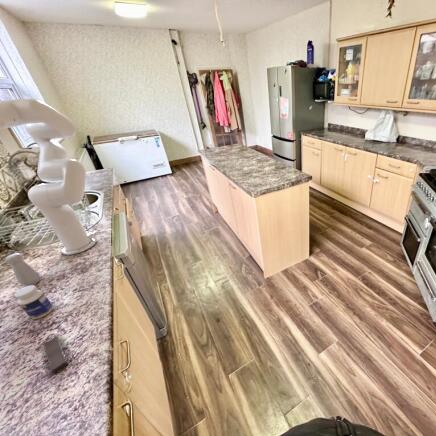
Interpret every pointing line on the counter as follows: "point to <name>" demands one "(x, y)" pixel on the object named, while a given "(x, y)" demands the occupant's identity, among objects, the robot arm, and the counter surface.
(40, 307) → the pill bottle
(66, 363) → the dark grey flat bar
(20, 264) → the salt shaker
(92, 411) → the counter surface
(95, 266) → the counter surface
